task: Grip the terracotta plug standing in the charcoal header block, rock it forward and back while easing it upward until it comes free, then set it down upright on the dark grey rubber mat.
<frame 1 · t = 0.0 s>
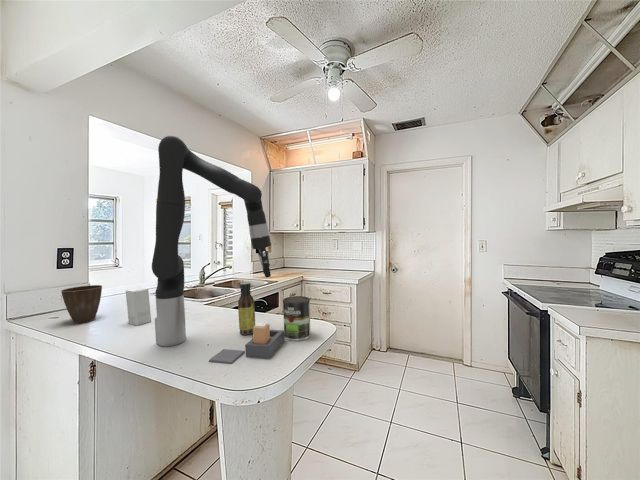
hand: (267, 275, 114), 22 cm above the table, tool pointing down, fingers open, 8 cm apart
coffee can: (297, 336, 107), on the table
mat: (227, 356, 91), on the table
plug: (262, 352, 93), resting in header
sauce bottle: (247, 333, 112), on the table
plant pot: (84, 321, 134), on the table
header: (266, 348, 96), on the table
skincare box: (139, 323, 129), on the table
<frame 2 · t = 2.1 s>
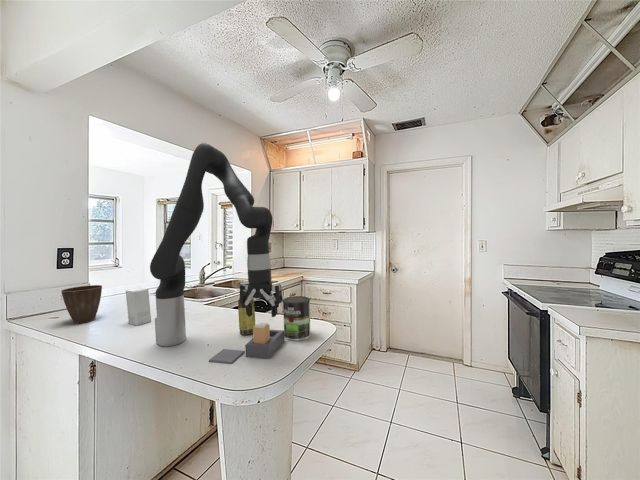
hand: (261, 316, 93), 12 cm above the table, tool pointing down, fingers open, 8 cm apart
nothing on the table moved.
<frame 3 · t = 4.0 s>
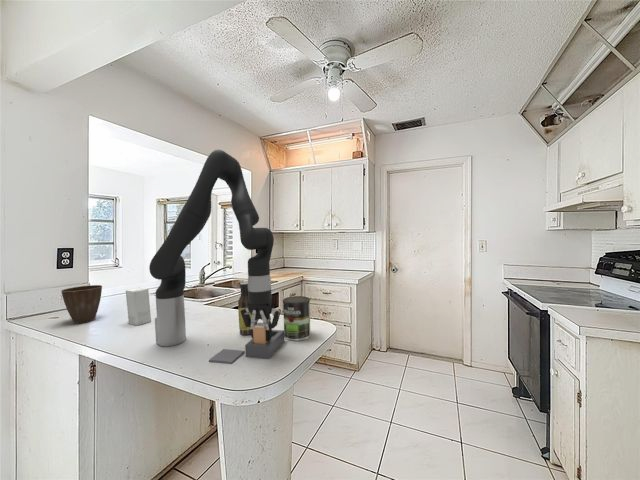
hand: (261, 339, 93), 4 cm above the table, tool pointing down, fingers closed on plug, 4 cm apart
plug: (262, 352, 93), resting in header, touching gripper
everything else where it was.
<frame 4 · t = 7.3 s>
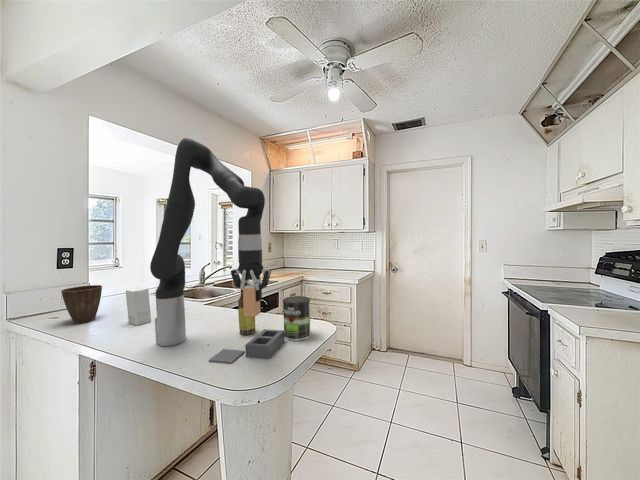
hand: (251, 300, 92), 18 cm above the table, tool pointing down, fingers closed on plug, 4 cm apart
plug: (252, 314, 92), point 13 cm above the table, touching gripper
everything else where it was.
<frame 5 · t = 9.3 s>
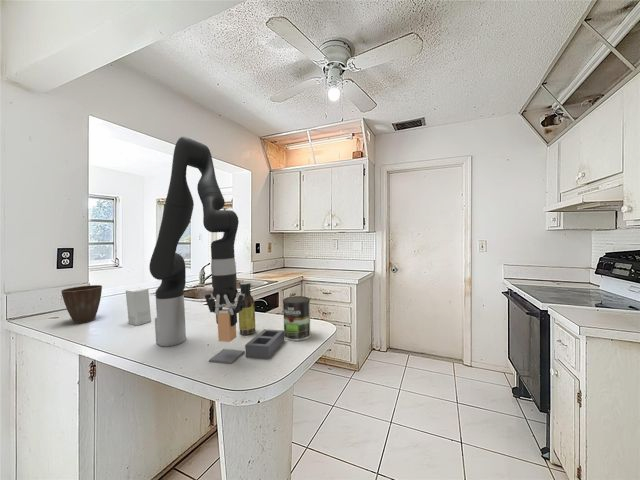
hand: (226, 324, 90), 10 cm above the table, tool pointing down, fingers closed on plug, 4 cm apart
plug: (227, 339, 91), point 6 cm above the table, touching gripper
everything else where it was.
when the fingers open (6 cm above the table, at t = 10.9 s): plug stays where it is, resting on mat.
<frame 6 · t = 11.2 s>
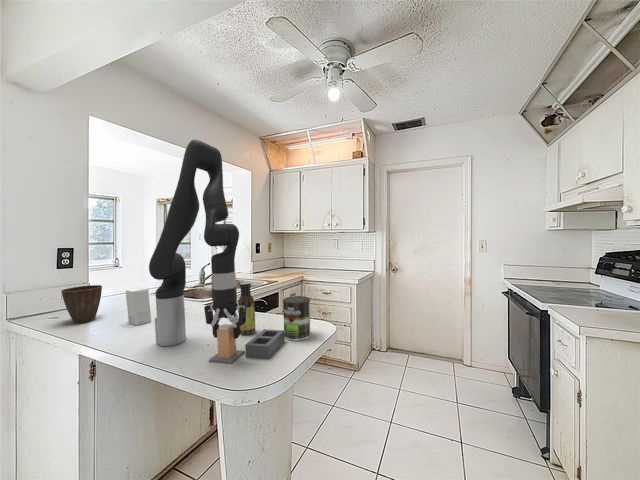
hand: (226, 337, 90), 6 cm above the table, tool pointing down, fingers open, 6 cm apart
plug: (227, 355, 91), point 1 cm above the table, touching mat
everything else where it was.
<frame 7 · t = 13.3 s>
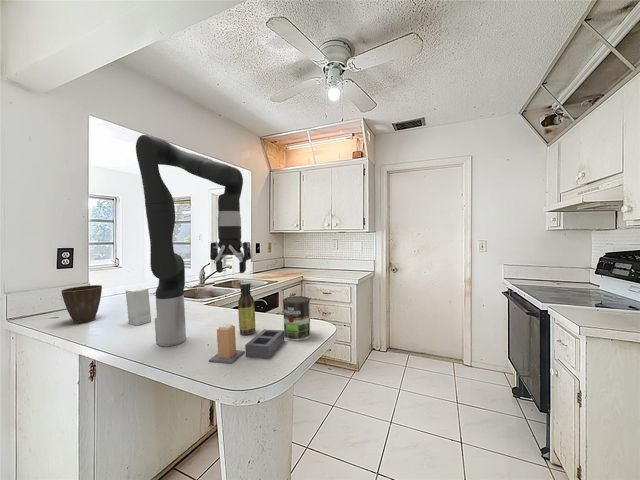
hand: (231, 272, 96), 27 cm above the table, tool pointing down, fingers open, 8 cm apart
nothing on the table moved.
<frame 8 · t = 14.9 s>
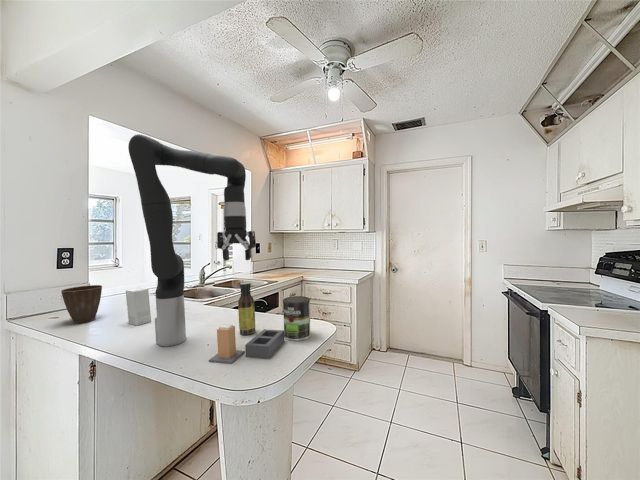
hand: (237, 260, 102), 30 cm above the table, tool pointing down, fingers open, 8 cm apart
nothing on the table moved.
at the end: plug inside the target area on the mat (0.1 cm from its centre), point 0.6 cm above the mat's base; plug tilted 0°; the gripper is holding nothing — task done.
